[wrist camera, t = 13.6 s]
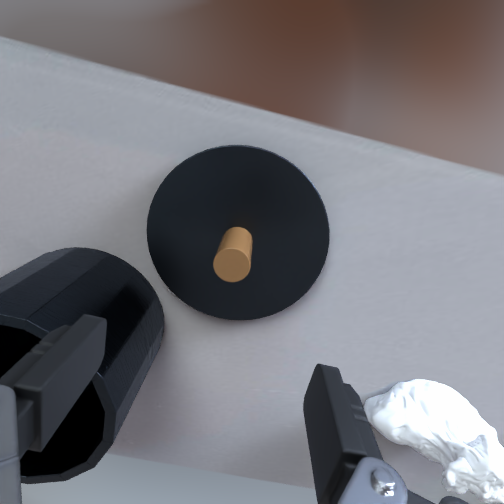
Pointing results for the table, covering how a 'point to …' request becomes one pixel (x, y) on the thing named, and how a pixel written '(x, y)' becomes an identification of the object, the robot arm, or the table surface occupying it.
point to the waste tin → (115, 355)
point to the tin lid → (238, 232)
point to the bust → (442, 435)
